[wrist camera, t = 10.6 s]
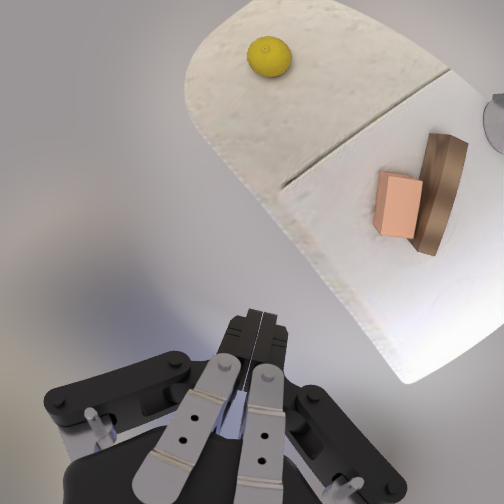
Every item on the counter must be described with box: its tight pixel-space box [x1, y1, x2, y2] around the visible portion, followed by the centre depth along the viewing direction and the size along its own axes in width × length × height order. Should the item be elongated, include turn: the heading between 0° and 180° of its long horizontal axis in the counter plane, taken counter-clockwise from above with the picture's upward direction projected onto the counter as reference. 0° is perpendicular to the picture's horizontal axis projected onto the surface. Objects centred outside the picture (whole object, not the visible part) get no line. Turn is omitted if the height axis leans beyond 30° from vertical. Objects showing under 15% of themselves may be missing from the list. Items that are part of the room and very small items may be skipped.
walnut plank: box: [407, 133, 468, 256], centre depth 33 cm, size 16×3×7 cm, turn 171°
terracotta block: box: [373, 171, 423, 239], centre depth 36 cm, size 8×5×5 cm, turn 179°
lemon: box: [247, 36, 292, 77], centre depth 30 cm, size 6×6×8 cm
